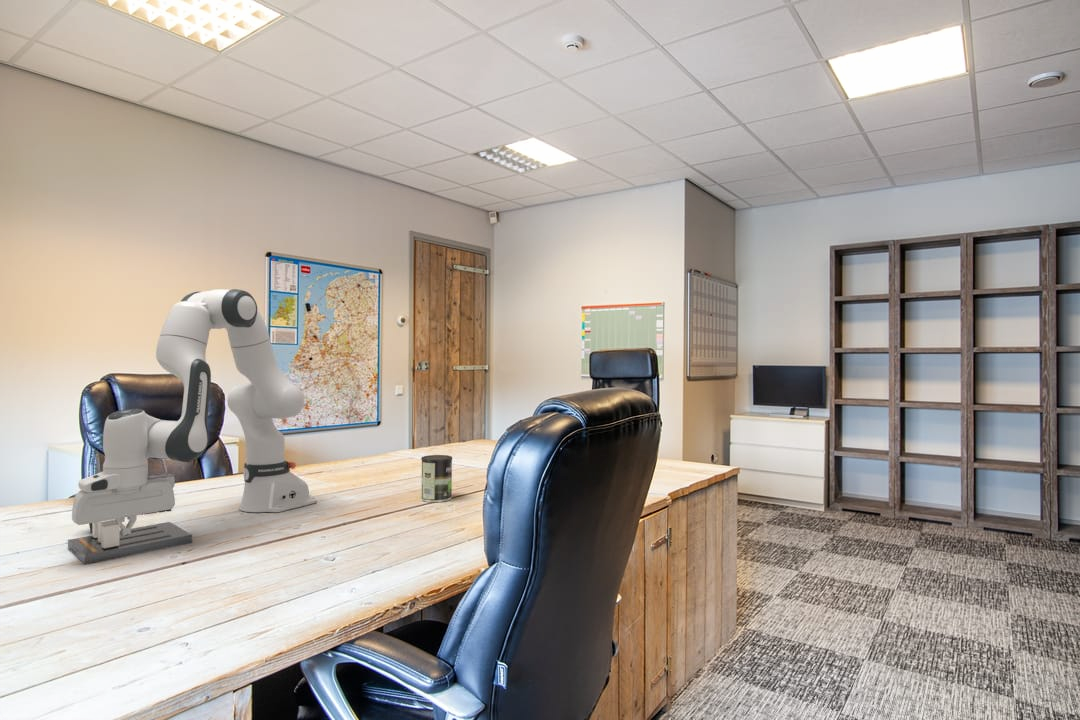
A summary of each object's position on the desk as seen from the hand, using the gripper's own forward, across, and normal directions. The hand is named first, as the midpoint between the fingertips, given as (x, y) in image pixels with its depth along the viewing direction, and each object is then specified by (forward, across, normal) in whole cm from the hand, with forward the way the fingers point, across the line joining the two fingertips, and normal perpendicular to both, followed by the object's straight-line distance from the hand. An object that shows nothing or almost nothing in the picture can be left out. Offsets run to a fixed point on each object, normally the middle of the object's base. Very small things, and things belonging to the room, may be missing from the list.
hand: (125, 535), depth 141 cm
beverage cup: (+4, 0, -25) cm, 26 cm away
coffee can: (+5, -85, +11) cm, 86 cm away
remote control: (+5, -19, -51) cm, 55 cm away
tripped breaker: (+2, +3, 0) cm, 4 cm away
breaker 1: (+2, +2, -11) cm, 12 cm away
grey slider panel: (+4, -2, -6) cm, 7 cm away
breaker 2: (+2, +2, -6) cm, 6 cm away
